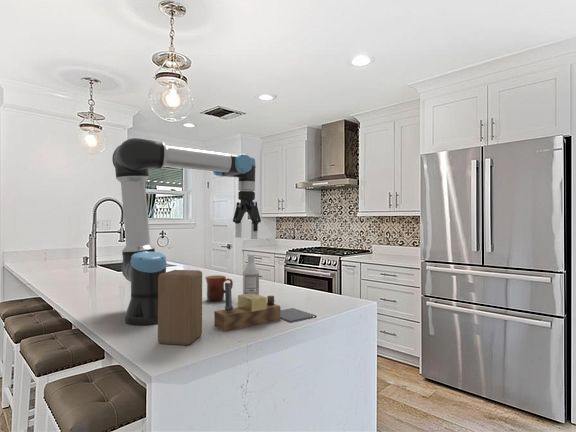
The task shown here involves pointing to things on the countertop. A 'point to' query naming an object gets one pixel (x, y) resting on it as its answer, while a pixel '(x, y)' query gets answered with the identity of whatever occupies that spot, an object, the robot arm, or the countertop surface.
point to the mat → (294, 315)
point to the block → (179, 306)
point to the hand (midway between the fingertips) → (246, 238)
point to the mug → (216, 287)
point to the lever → (228, 297)
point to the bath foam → (251, 277)
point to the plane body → (246, 316)
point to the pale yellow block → (252, 302)
